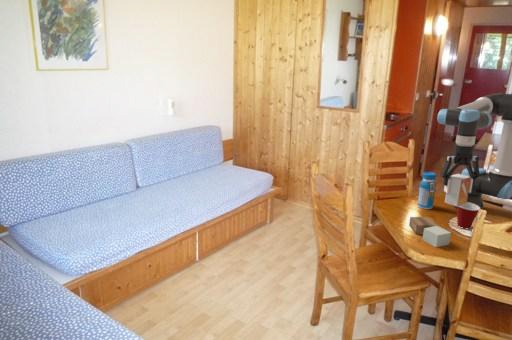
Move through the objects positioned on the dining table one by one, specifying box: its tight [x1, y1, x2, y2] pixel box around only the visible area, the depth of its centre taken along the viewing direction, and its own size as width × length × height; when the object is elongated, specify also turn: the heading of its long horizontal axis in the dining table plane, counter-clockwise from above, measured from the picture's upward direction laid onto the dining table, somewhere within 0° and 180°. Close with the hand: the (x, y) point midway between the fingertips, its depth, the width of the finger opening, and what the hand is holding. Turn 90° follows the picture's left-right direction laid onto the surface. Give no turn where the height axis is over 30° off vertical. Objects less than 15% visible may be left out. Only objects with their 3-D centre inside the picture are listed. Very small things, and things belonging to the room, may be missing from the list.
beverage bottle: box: [416, 171, 437, 210], centre depth 217 cm, size 8×8×20 cm
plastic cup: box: [456, 202, 480, 229], centre depth 192 cm, size 11×11×12 cm
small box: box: [444, 173, 471, 207], centre depth 177 cm, size 8×6×13 cm
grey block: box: [422, 225, 452, 248], centre depth 176 cm, size 8×8×6 cm
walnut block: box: [408, 216, 439, 235], centre depth 189 cm, size 10×10×5 cm
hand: (457, 191), depth 177 cm, fingers closed on small box, 10 cm apart
